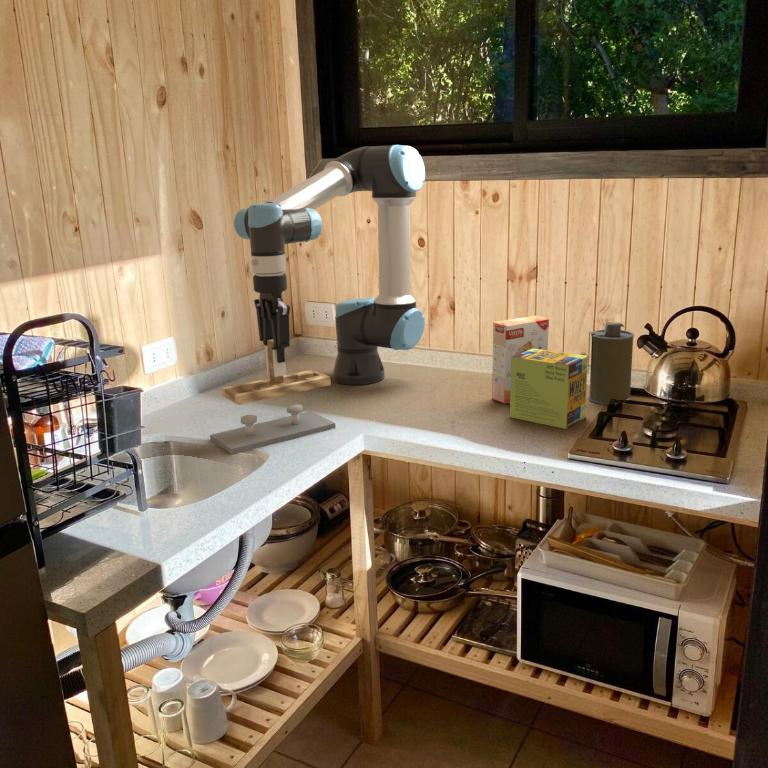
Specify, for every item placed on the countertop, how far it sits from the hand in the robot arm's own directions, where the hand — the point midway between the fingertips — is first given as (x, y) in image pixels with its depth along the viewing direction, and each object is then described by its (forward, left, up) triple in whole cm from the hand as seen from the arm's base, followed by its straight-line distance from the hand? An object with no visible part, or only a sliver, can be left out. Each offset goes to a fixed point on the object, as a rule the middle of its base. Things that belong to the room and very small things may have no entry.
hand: (276, 373), depth 186 cm
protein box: (-56, +33, -15) cm, 66 cm away
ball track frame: (0, 0, -4) cm, 4 cm away
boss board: (+2, 0, -14) cm, 15 cm away
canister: (-78, +33, -15) cm, 86 cm away
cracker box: (-62, +17, -15) cm, 66 cm away
